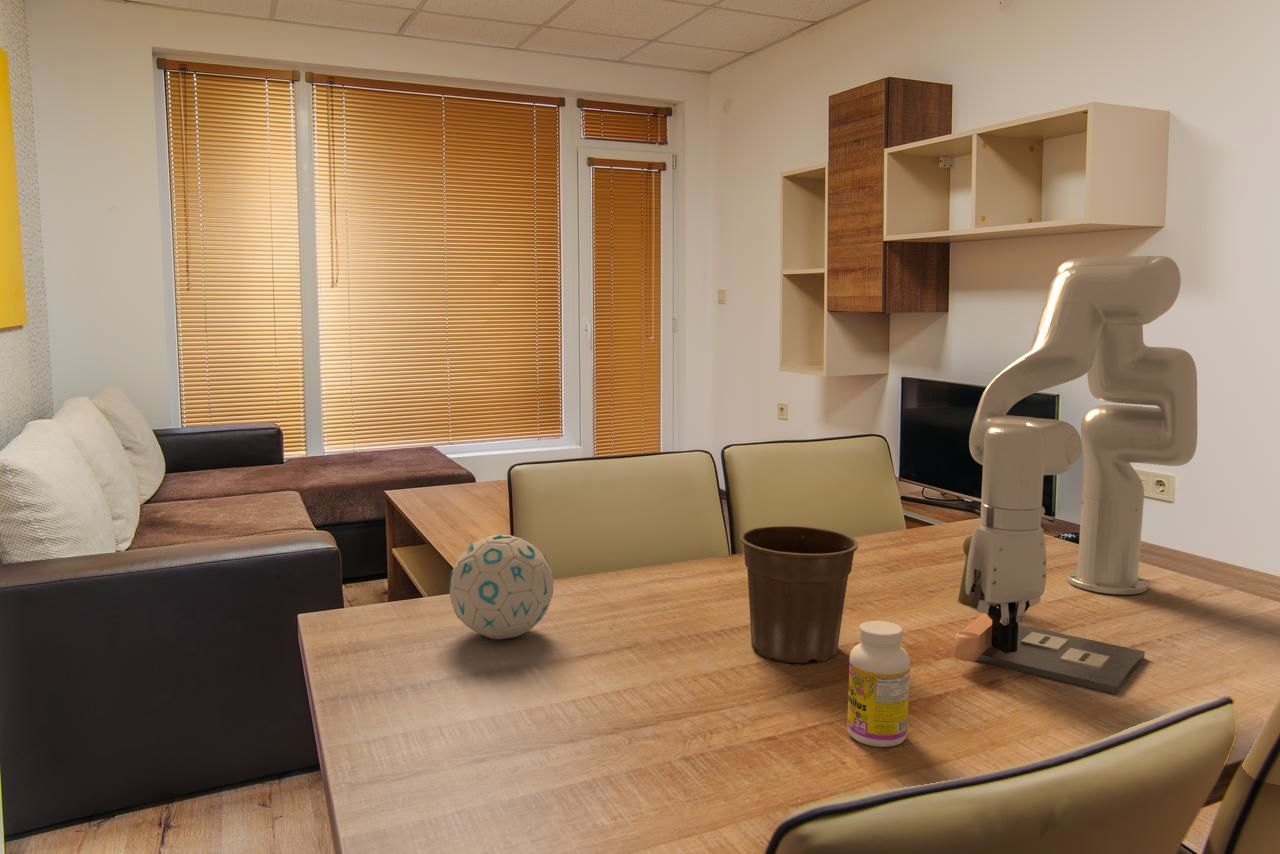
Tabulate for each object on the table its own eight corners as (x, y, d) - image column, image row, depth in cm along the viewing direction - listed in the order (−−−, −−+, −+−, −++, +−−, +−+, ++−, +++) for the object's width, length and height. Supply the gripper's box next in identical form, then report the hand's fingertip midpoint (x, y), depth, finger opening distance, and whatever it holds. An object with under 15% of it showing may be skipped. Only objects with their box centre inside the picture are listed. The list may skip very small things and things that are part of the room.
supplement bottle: (839, 724, 111) (843, 617, 109) (894, 722, 111) (899, 616, 110) (857, 750, 104) (861, 638, 103) (915, 748, 105) (920, 636, 103)
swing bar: (994, 621, 141) (995, 601, 140) (1015, 625, 139) (1016, 605, 139) (951, 657, 126) (952, 636, 126) (973, 663, 124) (974, 641, 124)
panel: (998, 626, 144) (1000, 588, 144) (1144, 658, 132) (1147, 616, 131) (959, 656, 132) (961, 615, 131) (1115, 694, 119) (1118, 648, 119)
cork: (999, 608, 153) (1003, 542, 151) (960, 606, 154) (963, 540, 153) (993, 597, 159) (996, 533, 157) (955, 595, 160) (958, 531, 158)
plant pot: (860, 636, 140) (864, 530, 138) (846, 677, 125) (851, 558, 123) (751, 624, 145) (753, 521, 143) (726, 661, 130) (728, 547, 128)
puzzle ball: (430, 635, 140) (427, 536, 138) (509, 611, 150) (508, 519, 149) (494, 662, 129) (492, 555, 127) (575, 634, 140) (574, 535, 138)
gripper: (1034, 506, 132) (1027, 633, 135) (945, 516, 127) (940, 647, 130) (1075, 518, 125) (1067, 651, 128) (984, 529, 120) (978, 667, 123)
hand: (1003, 649), depth 129 cm, fingers closed
